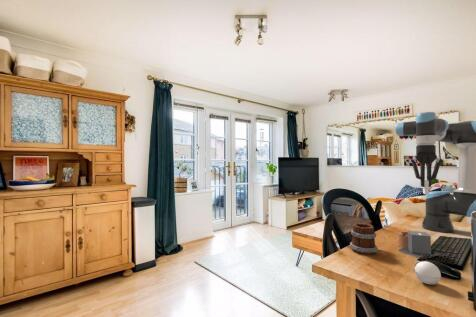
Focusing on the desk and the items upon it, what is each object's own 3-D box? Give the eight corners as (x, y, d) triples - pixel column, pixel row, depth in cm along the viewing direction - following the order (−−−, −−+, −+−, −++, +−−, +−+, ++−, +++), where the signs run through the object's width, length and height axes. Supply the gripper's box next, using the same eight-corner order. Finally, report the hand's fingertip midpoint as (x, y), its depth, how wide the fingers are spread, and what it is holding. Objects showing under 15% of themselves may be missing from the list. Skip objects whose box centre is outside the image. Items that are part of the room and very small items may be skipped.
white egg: (415, 276, 91) (415, 256, 91) (441, 282, 86) (441, 261, 86) (411, 286, 83) (411, 265, 83) (440, 294, 79) (440, 271, 79)
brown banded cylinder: (344, 250, 116) (346, 217, 118) (356, 248, 125) (358, 218, 127) (371, 257, 107) (373, 222, 109) (381, 254, 117) (383, 222, 119)
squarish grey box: (407, 247, 117) (407, 230, 118) (425, 249, 115) (425, 231, 115) (411, 252, 111) (411, 234, 111) (430, 254, 108) (430, 235, 108)
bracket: (415, 252, 115) (415, 237, 115) (395, 247, 122) (395, 233, 122) (427, 244, 126) (427, 230, 126) (408, 240, 133) (408, 227, 133)
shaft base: (414, 247, 120) (414, 235, 120) (440, 256, 110) (440, 242, 110) (399, 251, 116) (399, 238, 116) (424, 259, 105) (424, 245, 105)
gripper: (411, 144, 118) (411, 194, 118) (445, 144, 113) (445, 195, 113) (407, 145, 125) (407, 192, 125) (439, 144, 120) (439, 193, 120)
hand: (425, 193), depth 119 cm, fingers closed
